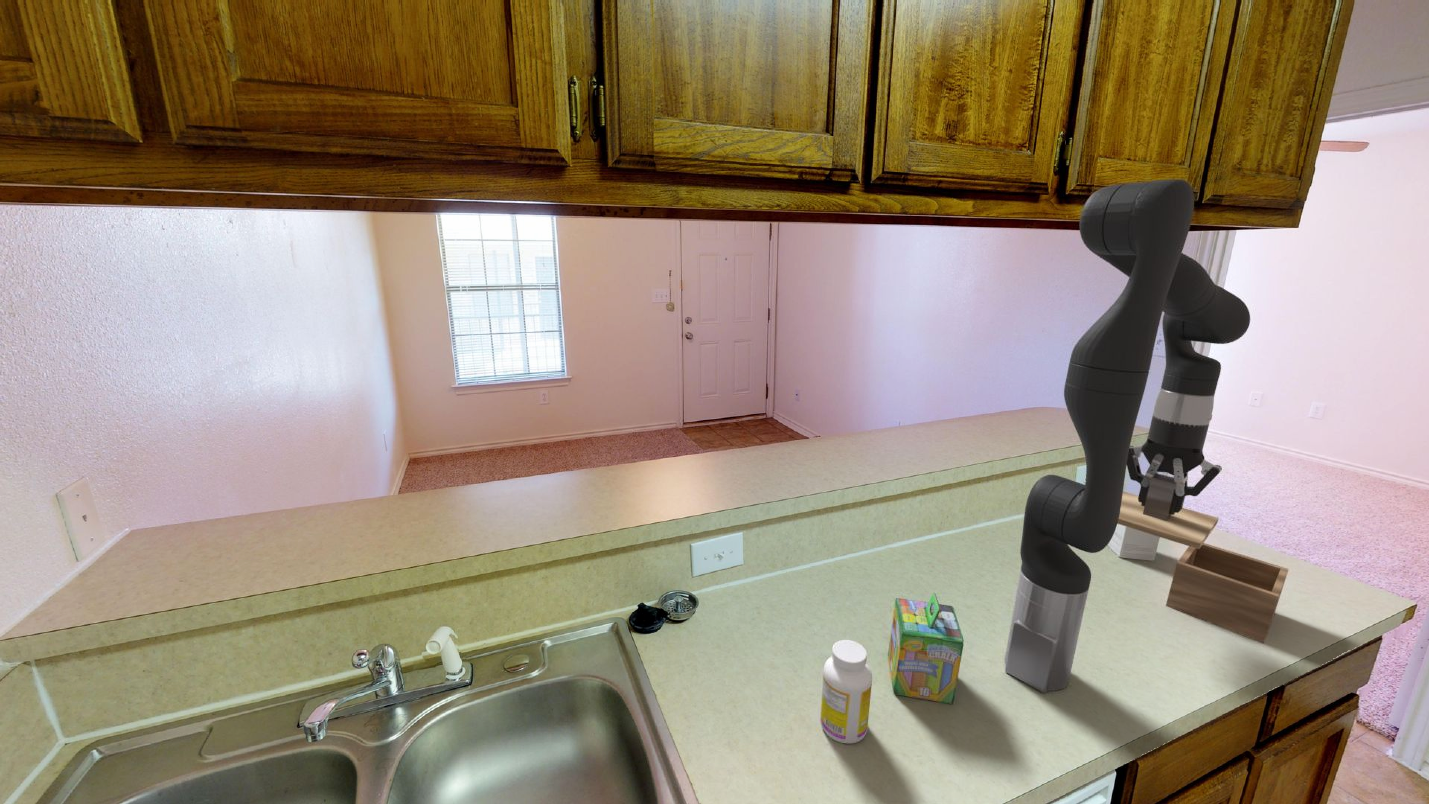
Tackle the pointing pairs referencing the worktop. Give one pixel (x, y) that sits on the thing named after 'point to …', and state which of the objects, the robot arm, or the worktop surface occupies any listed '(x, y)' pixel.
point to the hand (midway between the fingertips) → (1158, 508)
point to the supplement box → (1133, 543)
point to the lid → (1165, 515)
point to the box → (1227, 589)
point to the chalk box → (925, 650)
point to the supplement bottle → (846, 693)
